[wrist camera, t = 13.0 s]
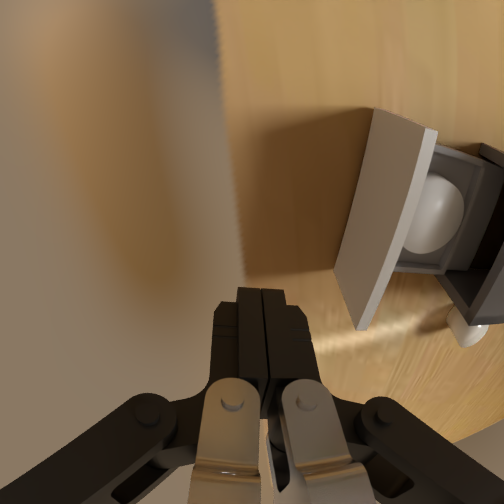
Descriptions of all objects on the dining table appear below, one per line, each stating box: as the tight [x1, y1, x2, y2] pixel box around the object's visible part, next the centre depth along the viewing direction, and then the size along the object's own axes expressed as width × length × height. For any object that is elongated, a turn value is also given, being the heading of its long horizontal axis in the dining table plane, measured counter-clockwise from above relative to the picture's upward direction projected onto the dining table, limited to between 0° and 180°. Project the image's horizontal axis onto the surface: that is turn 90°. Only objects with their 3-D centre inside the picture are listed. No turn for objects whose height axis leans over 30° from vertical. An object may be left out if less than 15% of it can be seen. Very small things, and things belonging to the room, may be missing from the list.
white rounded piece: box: [446, 306, 489, 348], centre depth 28 cm, size 4×4×4 cm
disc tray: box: [333, 107, 504, 330], centre depth 19 cm, size 14×13×7 cm
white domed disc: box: [403, 172, 464, 254], centre depth 21 cm, size 6×6×2 cm
